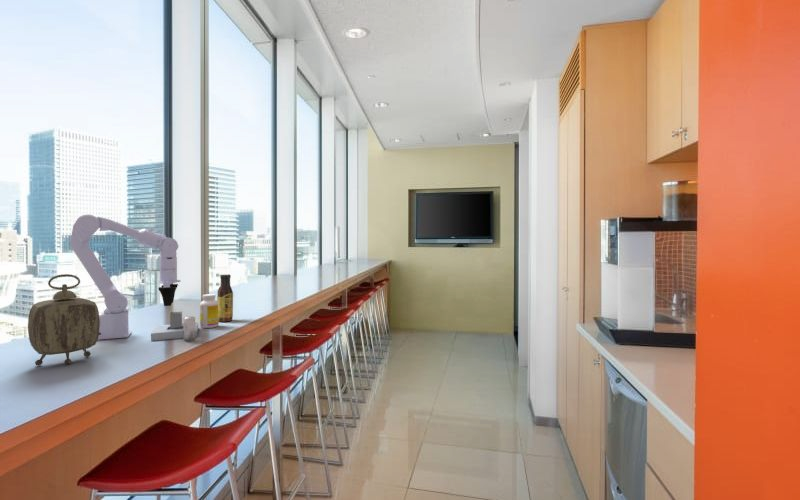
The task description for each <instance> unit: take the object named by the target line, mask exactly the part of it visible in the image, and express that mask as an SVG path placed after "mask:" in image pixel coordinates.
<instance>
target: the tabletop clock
mask: <svg viewBox="0 0 800 500" xmlns="http://www.w3.org/2000/svg"><path fill="white" fill-rule="evenodd" d="M65 277H66V278H67V277H68V278H73V279H76V280H77V283H76V284H73V285H70V286H68V284H66V283H64V284H63V283H62V286H60V287H59V286H55V285H54V286H53V285H51V282H52V281H53V280H55V279H57V278H65ZM47 284H48V286H49V288H51V289H54V290H58V291H57V292H55V293H54V294H53V296H52V299H48V300H42V301H39V302H36V303H33V304H32V306H31V307H30V309H29V312H28V320H27V332H28V333H27V334H28V339H29V343H30V347H32V349H33V350H34V351H35V352H36V353H37V354H38V355H41V357H40V359H36V361H35V362H34V364H35V366H41V365H43V363H44V361H43V360H44V359H45V357H46V356H52V355H61V354H65V358H66V359H65V360H64V361H63V362H64V364H65V365H67V366H69V365H71V364H72V362H73V359H71V358H70V353H73V352H79V351H83V352H84V353H83V356H84V357H86V358H88V357H90V355H92V354H91V351H90V350H87V349H89V348H92V347H93V346H96V345H97V342H98V341H99V340H98V336H99V328H100V319H99V313H100V312H99V309H98V305H97V304H96V302H95V301H93V300H90V299H87V298H83V297H77V295H76V293H75V292H74V291H71V290H72V289H74V288H76V287H78V286H79V285H80V284H81V280H80V278H79V277H78V276H76V275H74V274H66V273H65V274H58V275H54V276H52V277H51V278H50V279H49V280H48V281H47Z"/></svg>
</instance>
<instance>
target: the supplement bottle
mask: <svg viewBox="0 0 800 500" xmlns="http://www.w3.org/2000/svg"><path fill="white" fill-rule="evenodd" d="M216 295H217V294H215V293H208V294H207V293H206V294H202V297H201V298H202V301H200V303H199V327H200V328H201V329H211V328H212V329H213V328H217V327H218V326H219V318H218V302H217V299H216V298H217V297H216Z"/></svg>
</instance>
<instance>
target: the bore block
mask: <svg viewBox="0 0 800 500" xmlns="http://www.w3.org/2000/svg"><path fill="white" fill-rule="evenodd" d="M198 331H199V322H198V321H197V322H196V321H195V338H196V337H197V336H198ZM173 339H184V328H183V322H182V329H170V323H169V324H159V325H158V324H157V325H155V327H154V328H153V330H152V331H151V333H150V341H151V342H153V340H154V341H163V340H164V341H165V340H173Z"/></svg>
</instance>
